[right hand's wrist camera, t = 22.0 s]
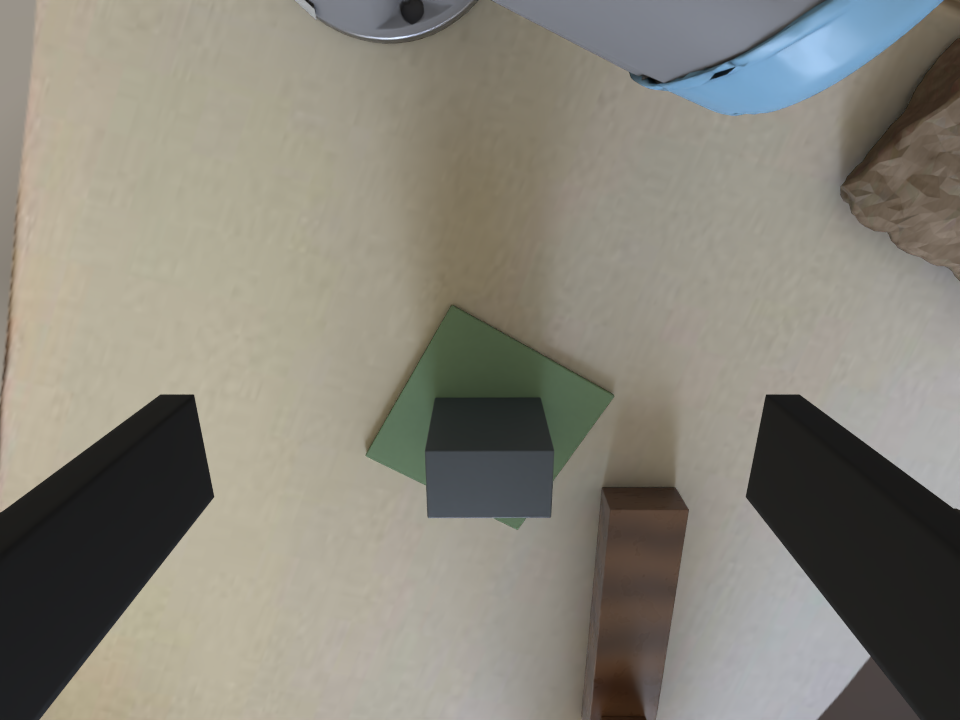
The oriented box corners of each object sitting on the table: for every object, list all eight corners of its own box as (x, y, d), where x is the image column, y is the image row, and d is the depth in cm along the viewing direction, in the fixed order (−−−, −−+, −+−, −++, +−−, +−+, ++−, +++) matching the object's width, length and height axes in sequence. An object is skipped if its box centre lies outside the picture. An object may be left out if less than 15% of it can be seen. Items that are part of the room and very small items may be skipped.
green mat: (451, 304, 39) (451, 305, 39) (613, 394, 41) (614, 396, 41) (366, 453, 43) (365, 456, 43) (517, 527, 46) (517, 530, 45)
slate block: (434, 397, 41) (424, 450, 34) (541, 396, 41) (554, 450, 34) (436, 455, 43) (427, 518, 35) (538, 455, 43) (551, 518, 35)
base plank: (601, 487, 44) (630, 565, 36) (675, 487, 44) (722, 565, 36) (581, 715, 53) (600, 820, 45) (642, 715, 53) (673, 820, 45)
